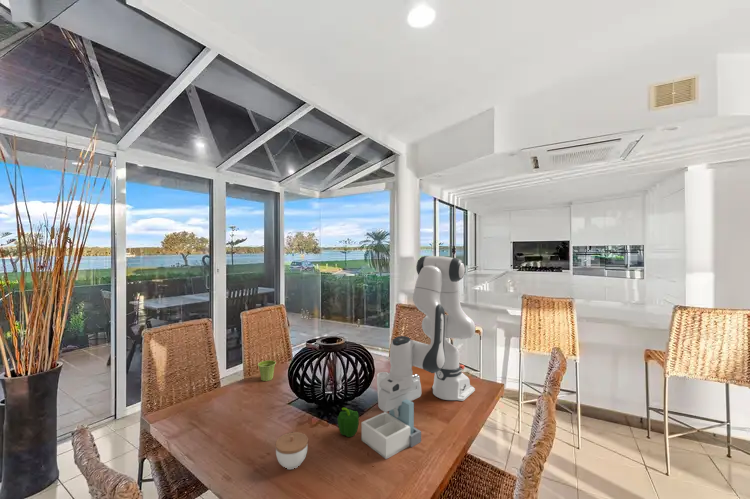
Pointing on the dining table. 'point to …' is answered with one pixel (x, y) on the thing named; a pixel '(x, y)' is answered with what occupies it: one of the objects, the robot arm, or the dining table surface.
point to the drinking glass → (379, 378)
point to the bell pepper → (348, 422)
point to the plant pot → (266, 369)
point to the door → (406, 414)
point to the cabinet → (388, 435)
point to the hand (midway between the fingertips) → (401, 414)
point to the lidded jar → (291, 449)
